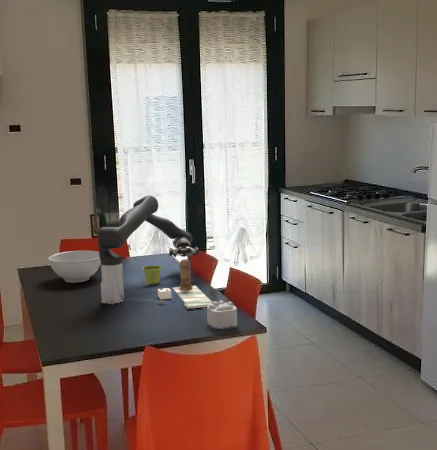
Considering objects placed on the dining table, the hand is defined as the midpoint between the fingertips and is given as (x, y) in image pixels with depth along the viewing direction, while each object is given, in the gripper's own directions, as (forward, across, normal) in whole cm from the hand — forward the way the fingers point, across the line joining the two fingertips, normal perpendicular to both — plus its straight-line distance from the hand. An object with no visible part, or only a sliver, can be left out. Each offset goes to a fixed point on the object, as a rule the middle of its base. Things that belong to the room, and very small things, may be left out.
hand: (184, 254), depth 308 cm
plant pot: (-3, -16, +15) cm, 22 cm away
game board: (+23, +2, +15) cm, 28 cm away
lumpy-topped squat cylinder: (+60, +12, +14) cm, 63 cm away
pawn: (+12, 0, +13) cm, 18 cm away
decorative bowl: (-21, -54, +15) cm, 60 cm away
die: (+24, -10, +15) cm, 30 cm away
